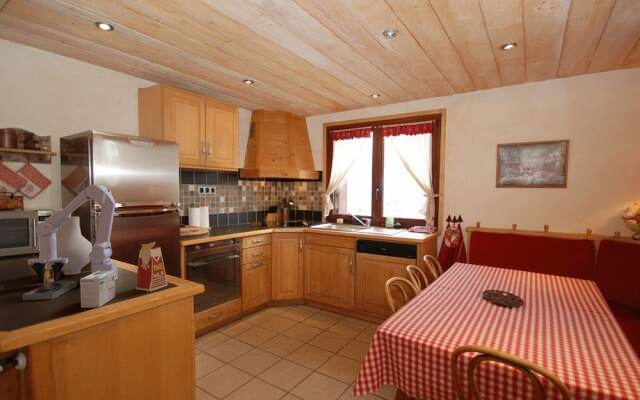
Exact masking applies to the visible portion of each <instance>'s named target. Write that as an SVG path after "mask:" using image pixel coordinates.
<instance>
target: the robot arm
mask: <svg viewBox="0 0 640 400" xmlns="http://www.w3.org/2000/svg"><path fill="white" fill-rule="evenodd" d="M88 201H95V202H96V203H97V204H98V205H99V206H100V207H101V209H100V213H99V220H98V227H97V232H96V238H95V242H94V244H93V245H92V251H91V252H90V254H89V259H90V263H91V266H90V267H91V274H92V273H94V272H97V271H115V281H116V280H118V279H119V277H118V264H117V262H116V261H111V258H110V257H112V254H113V250H112V243H111V234H112V229H113V228H112V227H113V223H114V222H113V221H114V217H115V212H116V211H115V210H116V205H117V204H116V201H115V199H114V197H113V194H112V190H111V189H110V188H109V187H108V186H106V185H105V184H90V185H88V186H87V187H86V188H84V189H82V190H81V192H79V193H78V194H77V196H75V197H74V198H73V199H72V200H71V201H70V202H69V203H68V204H66V206H65V207H64V208H58V209H55V210H53V211H52V214H51V215H50V216H49V217H46V218H45V219H44V221H43V222H38V224H37V225H36V227H35V232H36V233H37V235H38V248H39V250H38V251H39V253H38V254H39V258H31V259H27V265H31V268H32V270H33V271H34V273H35V274H36V276H37V278H38V280H39V281H40V282H41V281H44V269H46V264H50V267H51V268H52V269H53V278H54V281H57V280H59V278H60V275H61V272H62V270H61V269H62V267H63V266H64V264H65V263H68V258H57V249H56V241H57V232H58V231H59V229H60V228H61V227H63V224H64V223H65V222H66V221H67V220H69V219H70V218H71V217H72V214H73V212H75V210H77V209H78V208H79V207H81V206H82V205H83V204H84V203H86V202H88ZM53 263H55V264H53Z"/></svg>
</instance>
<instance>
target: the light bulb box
mask: <svg viewBox="0 0 640 400" xmlns="http://www.w3.org/2000/svg"><path fill="white" fill-rule="evenodd" d="M79 281H80V282H79V285H80V287H79V288H80V307H81V309H82V308H84V309H85V308H100V307H102V306H104V305H105V304H107V303H108V302H109V301H111V300H113V299H114V298H116V280H115V271H97V272H94V273H92V272H91V274H89V275H86V276H84V277H81V278H80V280H79Z"/></svg>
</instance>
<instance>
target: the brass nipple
mask: <svg viewBox="0 0 640 400" xmlns="http://www.w3.org/2000/svg"><path fill="white" fill-rule="evenodd" d="M50 282H55V280H54V278H53V269H52V267H51V268H50V267H48V268H45V269H44V280H43V285H46V284H48V283H50Z"/></svg>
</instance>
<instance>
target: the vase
mask: <svg viewBox="0 0 640 400" xmlns="http://www.w3.org/2000/svg"><path fill="white" fill-rule="evenodd" d="M61 227H62V230H61V235H60V237H59V238H58V239H56V249H57V258H68V263H65V264H64V266H63V267H62V269H61V272H63V275H64V276H65V275H66V276H69V275H70V276H71V275H72V276H73V275H77V274H81V269H83V268H84V267H85V266H86V265H88V264H89V263H91V261H90V259H89V254H90V252H91V251H92V249H93V245H92V242H91V241H89V240H88V239H86V238H85V237H84V236H83V235H82V231H81V226H80V216H71V218H70V219H69V220H67V221H66V222H65V223H64V224H63V225H62V226H61ZM53 264H55V263H52V265H53Z"/></svg>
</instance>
